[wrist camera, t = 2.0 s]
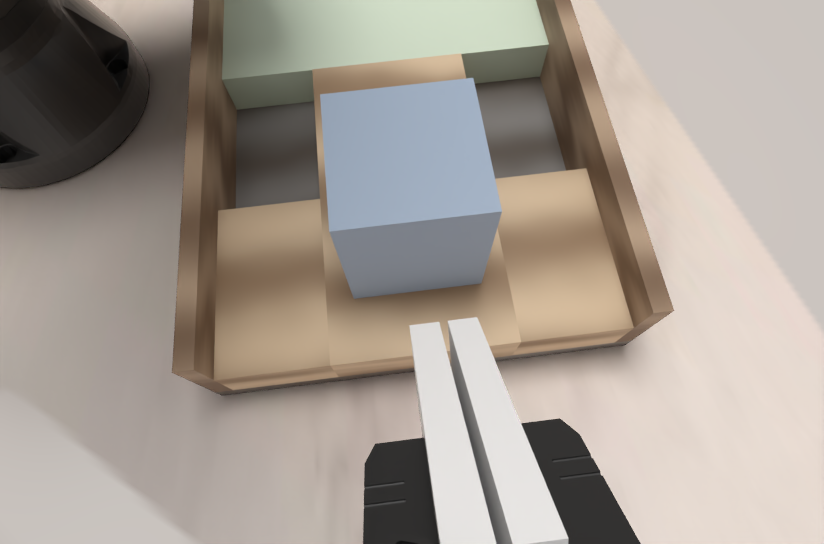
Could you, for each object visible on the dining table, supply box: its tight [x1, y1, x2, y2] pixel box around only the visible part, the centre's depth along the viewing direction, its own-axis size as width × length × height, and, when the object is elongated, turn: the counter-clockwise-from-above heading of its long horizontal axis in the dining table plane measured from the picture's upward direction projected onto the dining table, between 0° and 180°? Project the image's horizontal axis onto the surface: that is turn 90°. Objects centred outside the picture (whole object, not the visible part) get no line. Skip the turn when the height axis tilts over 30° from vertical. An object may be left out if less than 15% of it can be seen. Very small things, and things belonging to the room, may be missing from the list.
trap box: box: [172, 0, 674, 395], centre depth 33 cm, size 30×24×6 cm
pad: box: [222, 0, 549, 110], centre depth 38 cm, size 10×22×3 cm, turn 97°
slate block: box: [320, 78, 502, 299], centre depth 26 cm, size 7×7×8 cm
